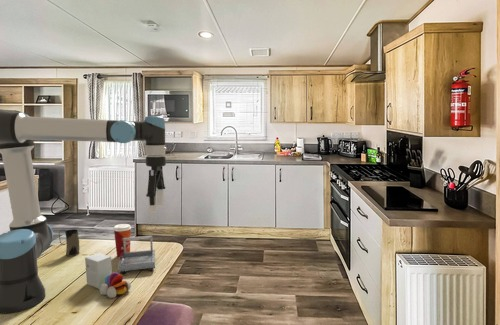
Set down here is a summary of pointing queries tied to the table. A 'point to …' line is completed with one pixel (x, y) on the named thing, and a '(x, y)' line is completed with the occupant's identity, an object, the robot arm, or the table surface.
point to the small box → (97, 269)
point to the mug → (71, 242)
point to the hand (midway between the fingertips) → (156, 208)
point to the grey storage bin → (137, 257)
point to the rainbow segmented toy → (114, 285)
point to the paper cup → (120, 233)
